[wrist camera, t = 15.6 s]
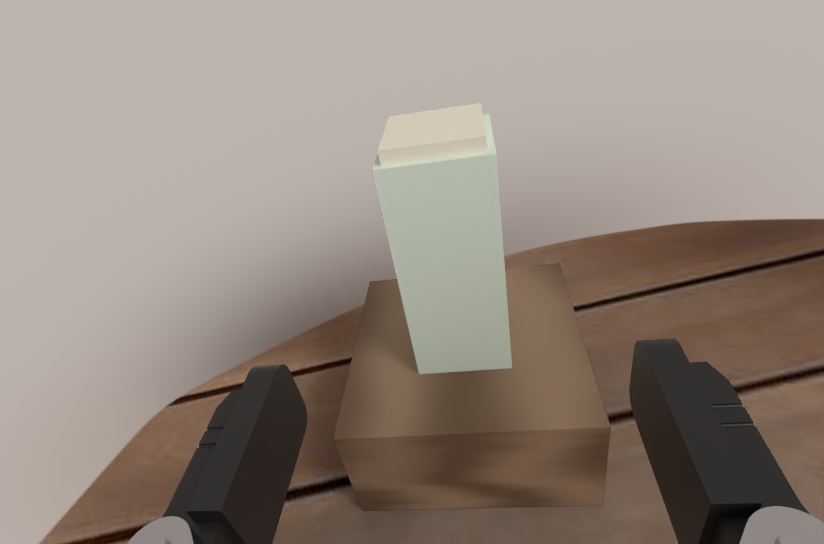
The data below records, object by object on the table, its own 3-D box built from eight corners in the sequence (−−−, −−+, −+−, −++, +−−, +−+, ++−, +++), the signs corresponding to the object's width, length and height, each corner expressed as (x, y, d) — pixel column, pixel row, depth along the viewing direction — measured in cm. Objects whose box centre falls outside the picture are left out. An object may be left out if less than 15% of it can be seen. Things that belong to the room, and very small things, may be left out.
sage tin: (504, 307, 27) (487, 99, 21) (512, 368, 24) (495, 137, 17) (423, 314, 28) (383, 115, 22) (418, 374, 24) (368, 155, 18)
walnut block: (559, 335, 33) (559, 263, 30) (602, 505, 23) (610, 426, 20) (388, 348, 35) (370, 281, 32) (362, 510, 25) (332, 439, 22)
